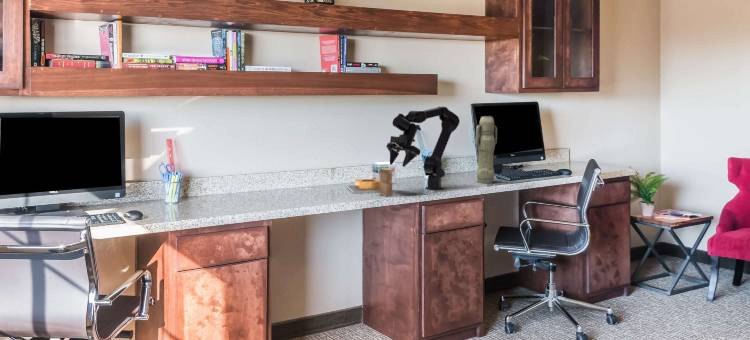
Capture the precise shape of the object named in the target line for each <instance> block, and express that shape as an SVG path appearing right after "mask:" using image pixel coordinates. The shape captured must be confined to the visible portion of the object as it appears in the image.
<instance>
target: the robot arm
mask: <svg viewBox="0 0 750 340" xmlns="http://www.w3.org/2000/svg"><path fill="white" fill-rule="evenodd" d="M435 117H438V118H439V120H440V121H441V132H440V134H439V136H438V138H437V141H436V144H435V146H434V149H433V151H432V154H431V155H430V156H428V155H427V156H426V157H425V159H424V160H425V161H424V162H423V163H422V164H423V171H424V175H425V176H426V177H427V180H426V181H427V182H426V183H427V185H426V187H425V188H426V189H429V190H441V189H444V187H442V177H445V173H446V171H444V169H443V168H442V165H443V161H442V157H443V155H444V153H445V150H446V147H447V145H448V142H449V140H450V138H451V134H452V133H453V132H455V131H456V130H457V128H458V126H459V125H460V118H459V116H458V115H457V114H455V112H453V111H451V110H450V109H449V108H448V107H446V106H438V107H434V108H429V109H425V110H410V111H409V112H408V114H405V115H404V114H403V113H398V114H397V116H396V117H394V118H393V120H392V126H393V127H395V128H397V129H398V130H399V131H401V132H402V134H399V136H395V135H394V136H393V135H390V140H389V142H387V144H386V148H387V150H388V152H389V162H390V164H391V165H392V164H393V163H395V161H396V159H397V157H398V156H399V155H400V152H401V151H403V152H405V155H404V159H403V160H402V161H403V162H402V167H403V168H404V167H406V166H407V165H408V164H409V163H410V162H411V161H413V160H414V159H415V158H417V157H419V156H420V154H421V150H420V148H418V147H417V146H415V145H413V143H415V142H416V140H415V137H416V134H417V132H419V131H422V128H421V126H420V124H423V123H424V122H426V121H427V120H428V119H430V118H431V119H432V118H435Z"/></svg>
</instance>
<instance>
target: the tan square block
mask: <svg viewBox="0 0 750 340" xmlns="http://www.w3.org/2000/svg"><path fill="white" fill-rule="evenodd" d="M380 194H381V195H382V196H385V195H387V196H392V195H393V183H392V169H380V193H379V195H380Z"/></svg>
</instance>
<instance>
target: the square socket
mask: <svg viewBox="0 0 750 340" xmlns="http://www.w3.org/2000/svg"><path fill="white" fill-rule="evenodd" d="M354 182H355V183H354V184H351V185H347V186H346V188H347V189H348V190H349V191H350V192H351V193H352V194H380V180H378V179H372V178H363V179H362V178H357V179H356V178H355V181H354Z"/></svg>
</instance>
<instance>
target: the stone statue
mask: <svg viewBox="0 0 750 340" xmlns="http://www.w3.org/2000/svg"><path fill="white" fill-rule="evenodd" d="M497 140H498V128H497V125H495V120H494V117H493V116H491V115H484V116H480V120H479V124H478V125H477V126H476V129H475V145H477V151H478V156H477V157H478V160H477V161H478V163H477V165H478V167H477V169H476V178H477V179H476V183H477V184H483V185H484V184H486V185H488V184H491V185H492V184H494V182H495V181H494V179H495V167H494V153H495V152H494V151H495V147H496V144H498V141H497Z"/></svg>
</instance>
